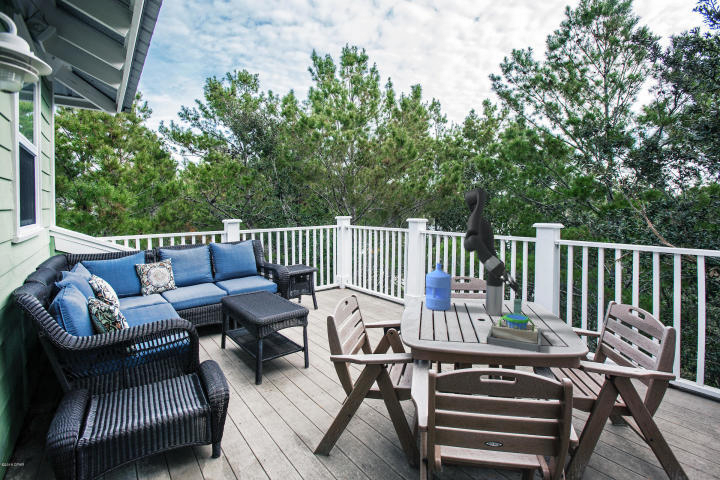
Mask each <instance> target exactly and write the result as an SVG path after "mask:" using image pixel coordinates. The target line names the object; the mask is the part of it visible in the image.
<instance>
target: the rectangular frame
mask: <svg viewBox="0 0 720 480" xmlns="http://www.w3.org/2000/svg"><path fill="white" fill-rule="evenodd" d="M496 323H497V321H496V322H495V321H493V322H492V325H491V327H490V330H489V331H488V334H487V336H486V344H487V345H491V346H497V347H503V348H509V349H510V348H511V349H517V350H521V351H522V350H523V351H528V350H529V352H534V351H536V353H541V331H542V330H541V329H542V328H540V327H538V333H537V344H536V343H530V342H523V341H516V340H510V339H503V338H496V337H492V328H493V326H495V325H496Z"/></svg>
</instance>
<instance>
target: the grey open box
mask: <svg viewBox="0 0 720 480" xmlns="http://www.w3.org/2000/svg"><path fill="white" fill-rule="evenodd" d="M522 302H523V300H522V299H521V298H518V299H517V298H514V300H513V314H519V315H522V304H523V303H522ZM499 321H500V320H497V321H496V323H495V326H493V328H492V337H491V338H498V339H504V340H511V341H518V342H524V343H531V344H538V328H539V327H538V325H535V324H534V331H532V327H533V324H527V327H526V330H519V329H512V328H507V327H506V320H505V321H504V320H501V326H500V327H499Z"/></svg>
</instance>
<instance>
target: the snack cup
mask: <svg viewBox="0 0 720 480" xmlns="http://www.w3.org/2000/svg"><path fill="white" fill-rule="evenodd" d="M503 320H505V322H506V326H505V328H512V329H519V330H527V329H526V327H527V324H528V323H529V322H531V325H533V327H532V330H531V331H534V325H535V323H534V322H533V321H532V319H530V318H529V317H528V316H527V315H523V314H521V315H519V314H514V313H507V314H505V315H504V316H502V317H501V318H500V319H499V320H498V321H499V327H502V326H501V321H503ZM528 325H529V324H528Z"/></svg>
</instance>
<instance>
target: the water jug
mask: <svg viewBox="0 0 720 480" xmlns="http://www.w3.org/2000/svg"><path fill="white" fill-rule="evenodd" d="M435 267H436V269H435V270H433V271H431V272H427V274H426V276H425V281H426V282H425V285H426V286H425V287H426V288H425V308H426V309H429V310H431V311H437V312H438V311H440V312H441V311H447V310H448V311H449V310H450V309H451V307H452V304H451V302H452V301H451V298H452V297H451V296H452V274H450V273H447V272H446V271H444V270H442V263H439V262H438V263H435Z"/></svg>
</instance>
